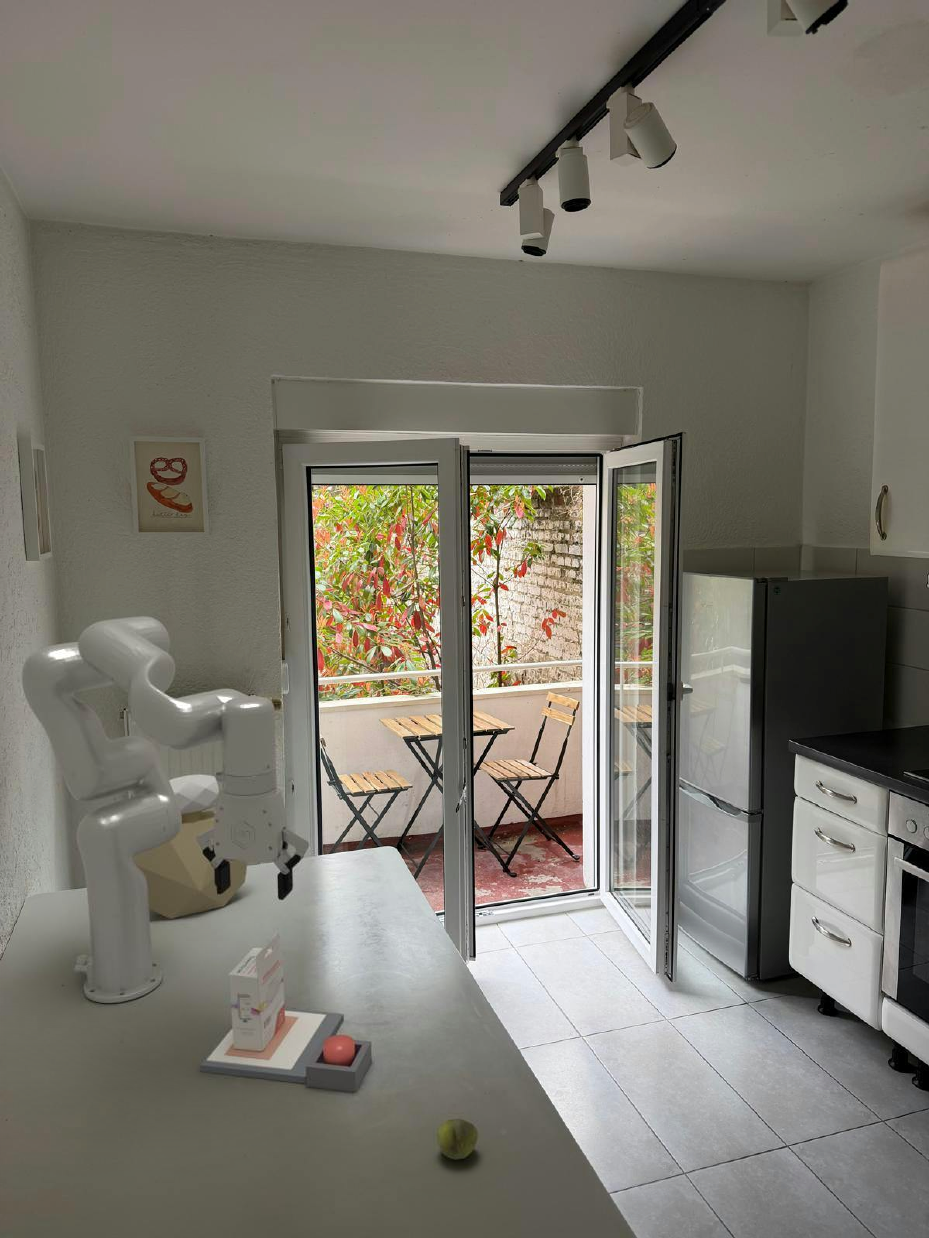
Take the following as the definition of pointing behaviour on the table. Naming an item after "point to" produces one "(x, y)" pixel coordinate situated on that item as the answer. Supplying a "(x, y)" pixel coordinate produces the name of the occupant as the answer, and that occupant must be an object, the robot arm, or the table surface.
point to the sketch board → (276, 1049)
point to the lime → (457, 1138)
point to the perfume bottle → (188, 856)
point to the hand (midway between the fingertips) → (254, 893)
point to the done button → (339, 1050)
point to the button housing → (339, 1069)
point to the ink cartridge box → (257, 997)
